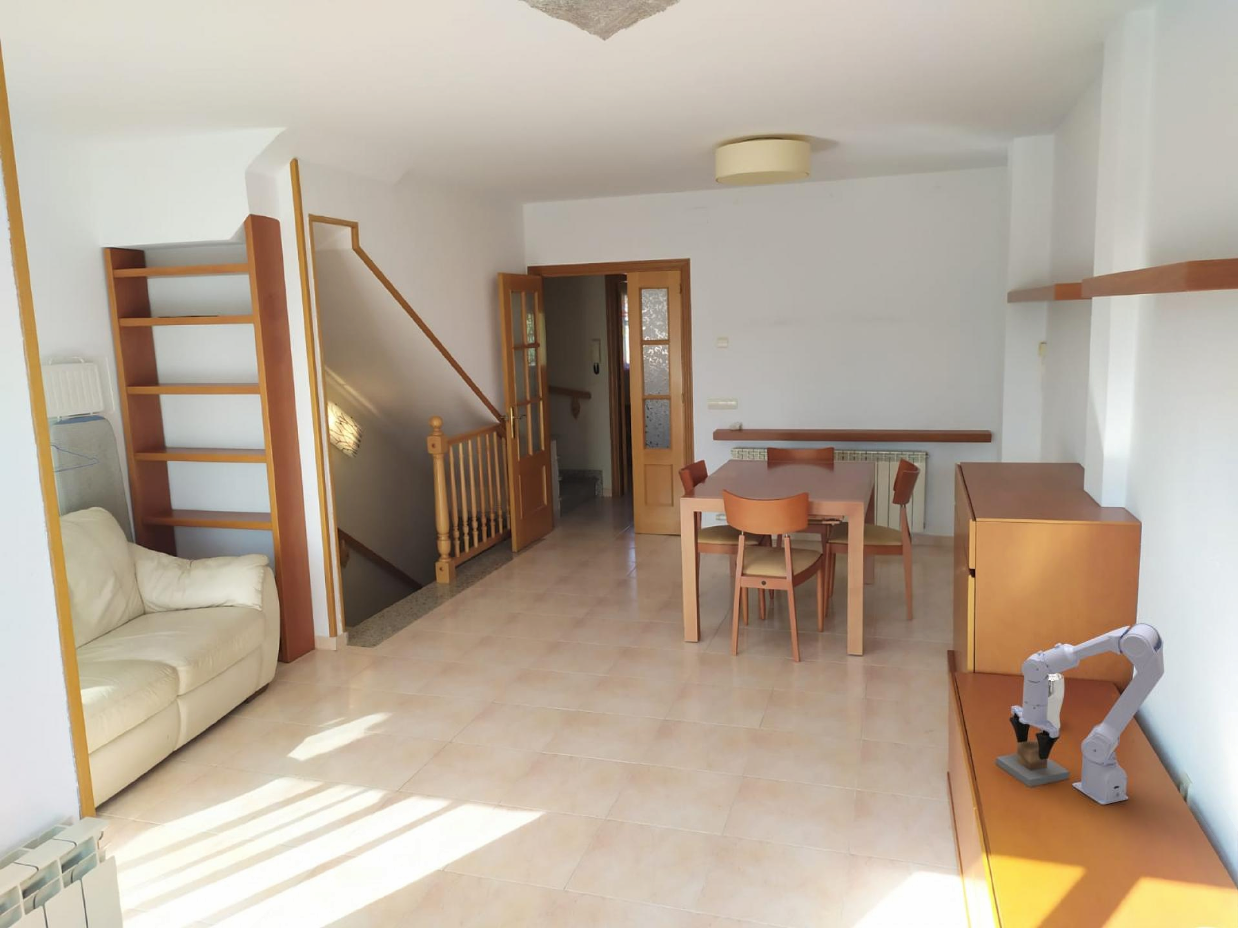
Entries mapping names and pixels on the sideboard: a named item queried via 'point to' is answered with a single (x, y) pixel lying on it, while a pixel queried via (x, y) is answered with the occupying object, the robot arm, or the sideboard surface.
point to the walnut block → (1030, 755)
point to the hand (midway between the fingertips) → (1032, 751)
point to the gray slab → (1032, 771)
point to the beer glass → (1055, 698)
